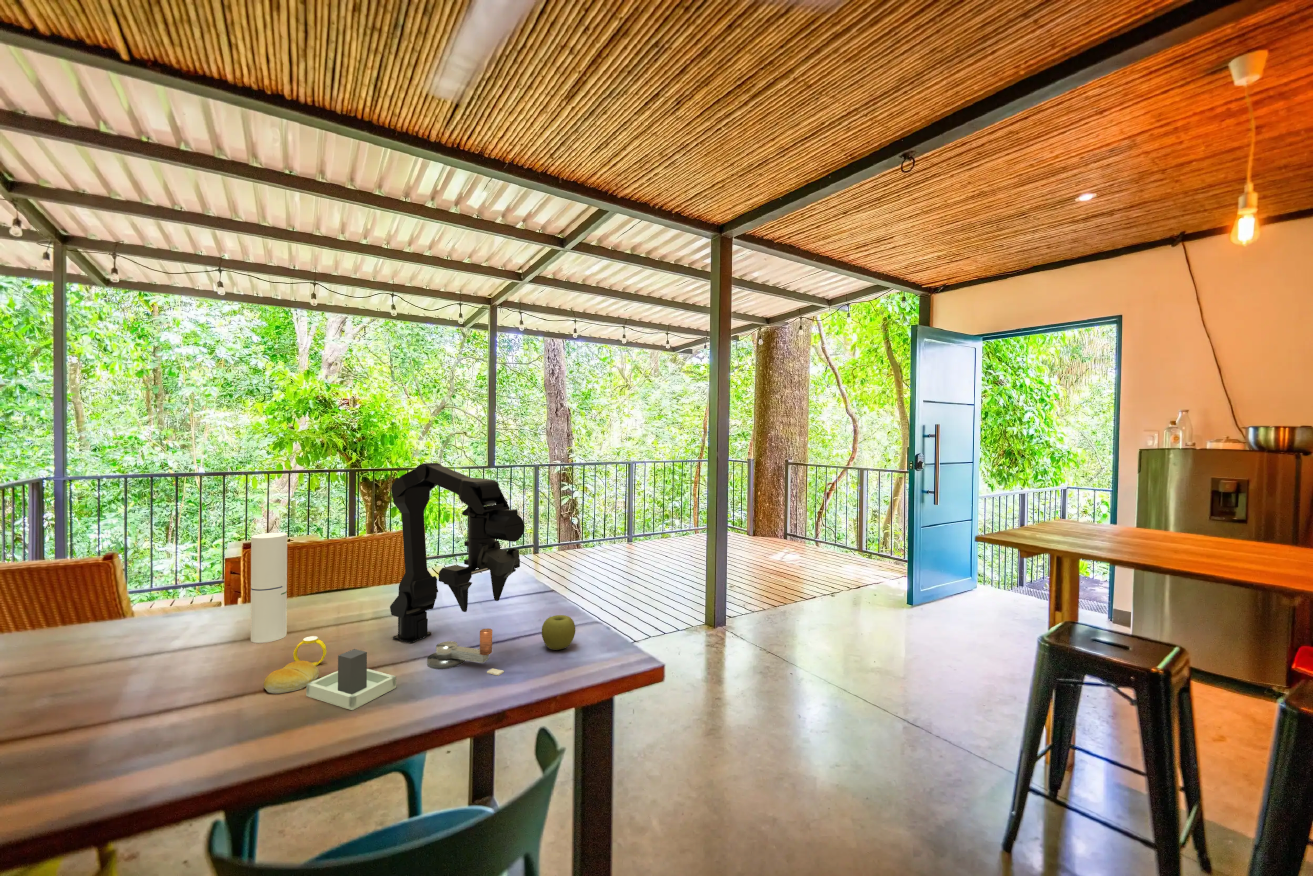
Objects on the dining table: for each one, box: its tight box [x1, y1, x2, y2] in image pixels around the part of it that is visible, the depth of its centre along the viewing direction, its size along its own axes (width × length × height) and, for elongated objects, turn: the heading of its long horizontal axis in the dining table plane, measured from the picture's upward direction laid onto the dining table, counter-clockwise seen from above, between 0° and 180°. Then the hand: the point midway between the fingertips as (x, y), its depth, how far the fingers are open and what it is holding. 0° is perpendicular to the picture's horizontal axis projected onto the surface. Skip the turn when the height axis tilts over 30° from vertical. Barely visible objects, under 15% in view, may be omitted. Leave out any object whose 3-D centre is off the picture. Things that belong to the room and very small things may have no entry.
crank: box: [435, 628, 493, 664], centre depth 119 cm, size 14×4×7 cm, turn 73°
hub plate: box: [426, 652, 466, 670], centre depth 121 cm, size 8×8×1 cm
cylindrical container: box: [250, 532, 288, 644], centre depth 132 cm, size 7×7×25 cm
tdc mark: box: [486, 667, 505, 677], centre depth 115 cm, size 3×2×1 cm, turn 67°
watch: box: [292, 635, 328, 667], centre depth 118 cm, size 6×3×6 cm, turn 106°
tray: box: [305, 668, 397, 711], centre depth 106 cm, size 10×13×2 cm
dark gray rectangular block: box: [337, 648, 368, 695], centre depth 106 cm, size 4×4×7 cm
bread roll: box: [263, 660, 320, 695], centre depth 109 cm, size 8×9×4 cm
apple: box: [541, 614, 576, 651], centre depth 129 cm, size 8×8×7 cm
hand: (481, 606), depth 122 cm, fingers open, 9 cm apart
